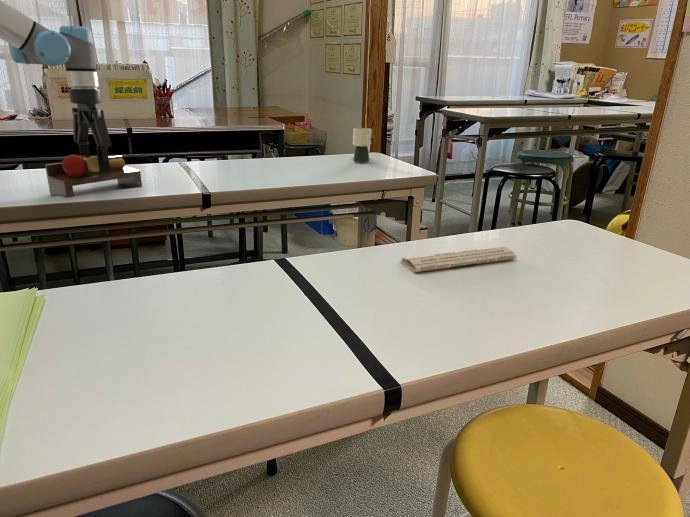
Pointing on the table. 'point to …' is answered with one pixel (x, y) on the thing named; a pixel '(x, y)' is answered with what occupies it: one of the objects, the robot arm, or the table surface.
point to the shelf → (88, 178)
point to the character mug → (361, 143)
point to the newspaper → (458, 258)
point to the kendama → (86, 164)
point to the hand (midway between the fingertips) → (96, 169)
